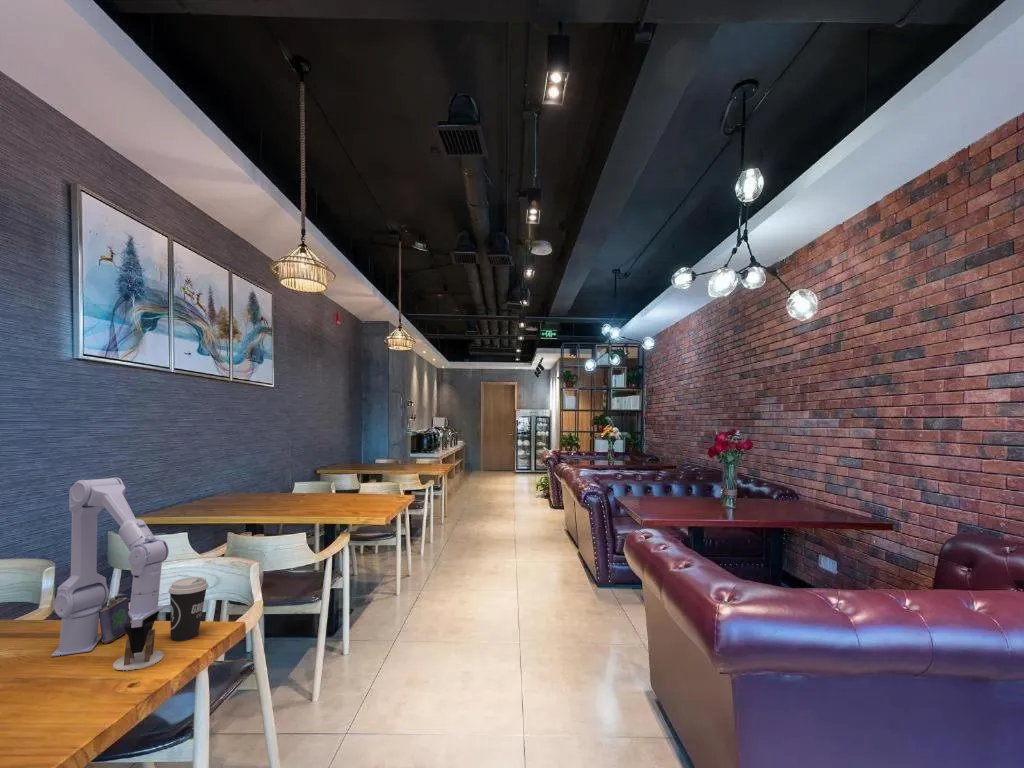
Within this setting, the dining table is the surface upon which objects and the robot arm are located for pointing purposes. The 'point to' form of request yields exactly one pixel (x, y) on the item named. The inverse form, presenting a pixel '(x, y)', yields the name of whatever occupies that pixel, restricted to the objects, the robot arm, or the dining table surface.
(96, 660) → the dining table surface
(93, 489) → the robot arm
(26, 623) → the dining table surface
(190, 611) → the coffee cup
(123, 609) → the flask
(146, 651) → the stool
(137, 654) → the plate
